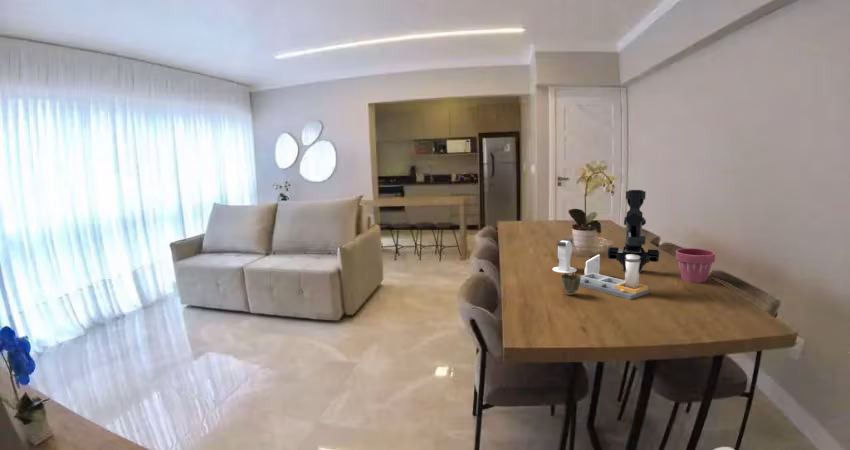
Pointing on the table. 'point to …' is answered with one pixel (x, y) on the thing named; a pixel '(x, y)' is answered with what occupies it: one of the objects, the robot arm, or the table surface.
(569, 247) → the white charging stand
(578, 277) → the cup
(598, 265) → the white wedge bracket
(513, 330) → the table surface
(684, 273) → the plant pot
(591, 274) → the board
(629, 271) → the white bottle
